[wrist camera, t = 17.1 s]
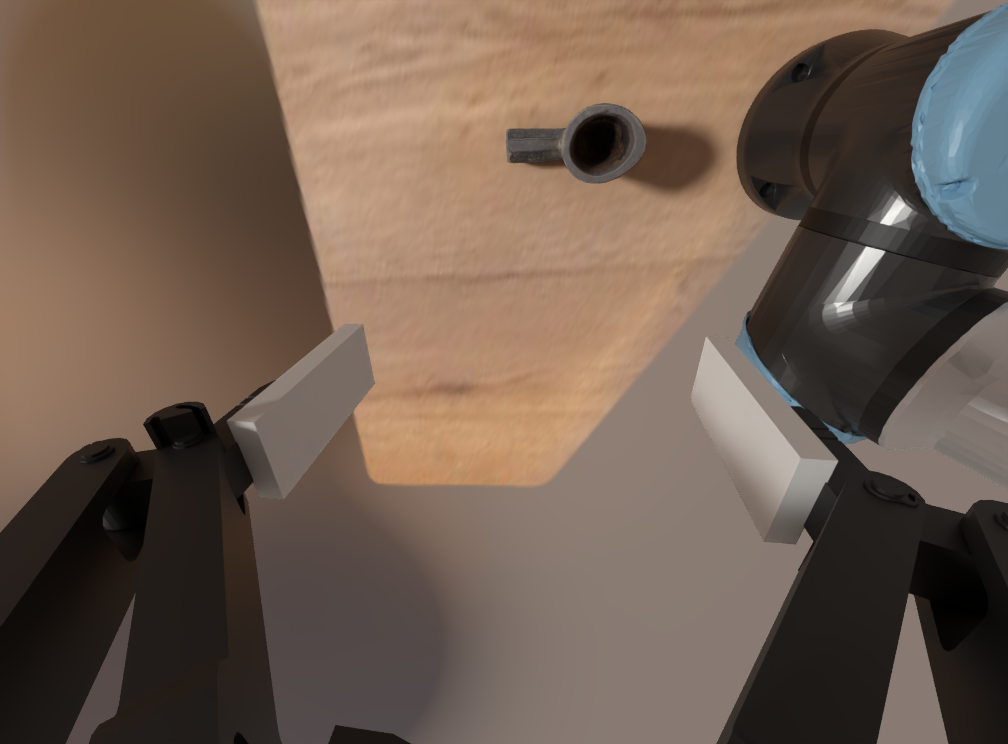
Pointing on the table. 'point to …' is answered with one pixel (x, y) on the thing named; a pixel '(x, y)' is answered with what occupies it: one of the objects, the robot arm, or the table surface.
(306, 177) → the table surface
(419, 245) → the table surface
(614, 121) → the pipe
